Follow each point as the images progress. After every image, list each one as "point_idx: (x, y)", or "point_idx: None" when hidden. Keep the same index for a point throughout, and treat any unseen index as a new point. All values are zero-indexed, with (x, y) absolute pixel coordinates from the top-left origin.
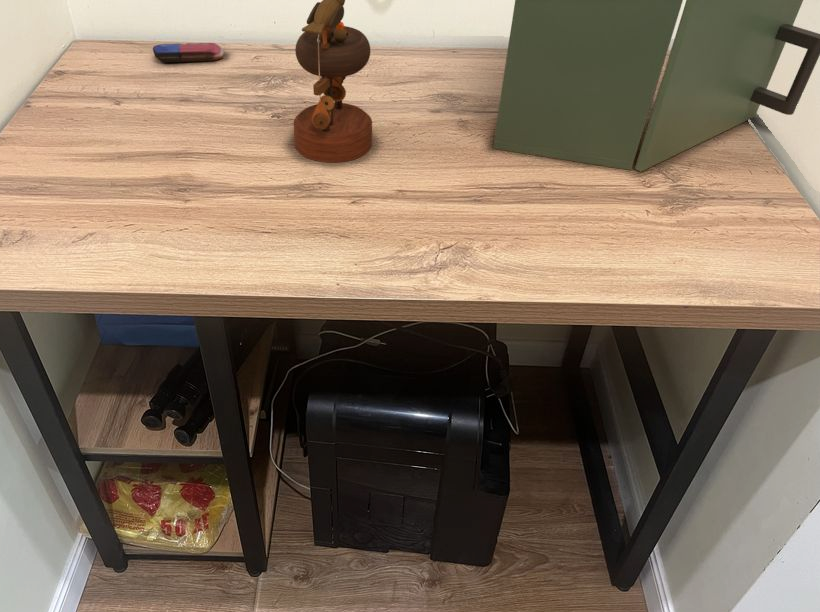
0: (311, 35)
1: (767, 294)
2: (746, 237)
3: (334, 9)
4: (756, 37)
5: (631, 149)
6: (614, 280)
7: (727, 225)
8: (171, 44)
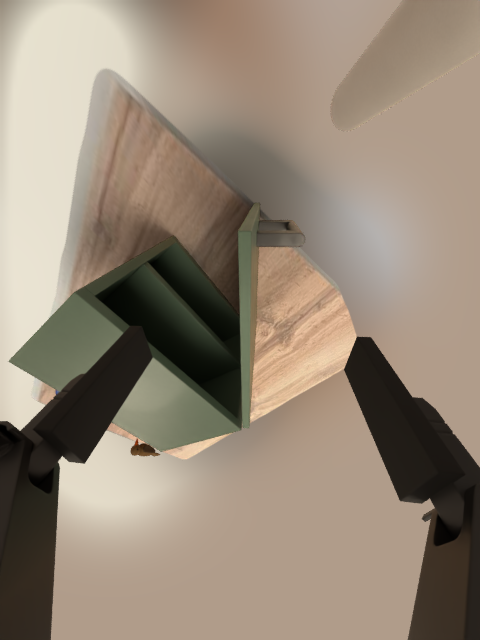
0: None
1: (345, 362)
2: (323, 338)
3: (146, 453)
4: (255, 284)
5: None
6: (296, 386)
7: (312, 336)
8: (57, 392)
